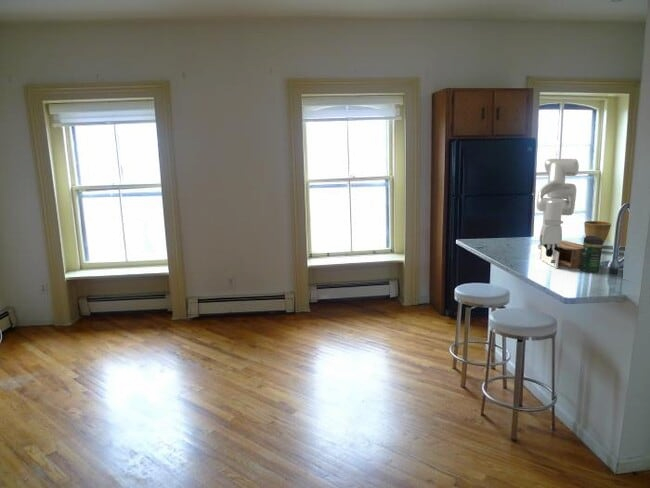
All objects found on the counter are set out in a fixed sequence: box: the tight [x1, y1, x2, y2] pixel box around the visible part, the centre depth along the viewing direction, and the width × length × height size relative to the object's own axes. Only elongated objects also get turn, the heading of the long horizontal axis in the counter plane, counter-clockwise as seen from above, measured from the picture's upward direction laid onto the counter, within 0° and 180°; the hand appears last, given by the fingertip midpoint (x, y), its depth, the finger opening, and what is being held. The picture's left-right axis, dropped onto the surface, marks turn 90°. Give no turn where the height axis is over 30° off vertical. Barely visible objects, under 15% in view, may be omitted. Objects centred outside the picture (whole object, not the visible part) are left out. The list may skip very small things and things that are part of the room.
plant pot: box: [583, 220, 612, 245], centre depth 284 cm, size 15×15×16 cm
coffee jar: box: [579, 235, 604, 274], centre depth 229 cm, size 10×8×19 cm
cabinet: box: [549, 239, 583, 270], centre depth 245 cm, size 14×20×11 cm
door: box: [539, 246, 559, 269], centre depth 243 cm, size 2×19×9 cm, turn 177°
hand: (548, 256), depth 237 cm, fingers closed
